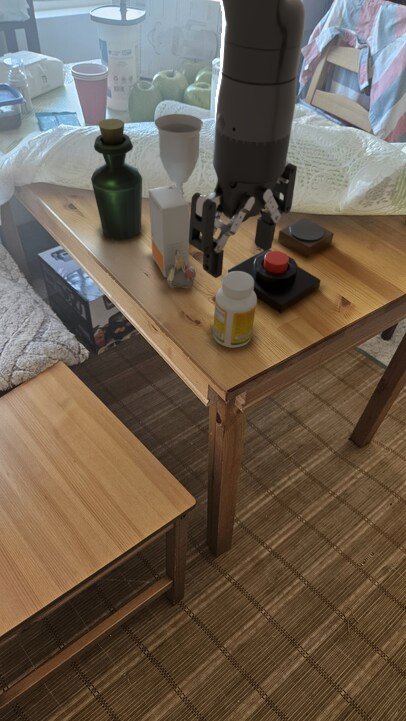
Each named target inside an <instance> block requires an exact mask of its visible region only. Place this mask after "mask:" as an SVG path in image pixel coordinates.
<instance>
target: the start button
mask: <svg viewBox="0 0 406 721" xmlns="http://www.w3.org/2000/svg"><path fill="white" fill-rule="evenodd" d="M288 256H289V255H288V254H287V253H285V252H283V251H280V250H271V251H270V252H268V253H267V254H266V255H265V259H264V269H265V270H266V271H268V272H270V273H275V274H279V273H284V272H286V271H287V268H288V262H289V257H290V256H289V257H288Z"/></svg>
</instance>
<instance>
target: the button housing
mask: <svg viewBox="0 0 406 721" xmlns="http://www.w3.org/2000/svg"><path fill="white" fill-rule="evenodd" d="M270 251H272V249H269V250H267V251H264V250H263V249H262V250H261V251H260V252H258V253H256V254H254V255H252V256H250V257H248V258H247V259H245V260H243V261H242V262H240V263H237V264H236V265H234V266H232V267H231V268H228V270H227V273H229V272H233V271H242V272H245V273H248V274H249V275H251V276H252V277H253V279H254V290H253V291H254V292H255V294H256V297H257V300H259V301H260V302H262V303H263V304H265V305H267V306H268V307H270V309H272V310H274V311H275V312H277V313H278V314H282V313H283V312H285V311H286V310H288V309H289V308H291V307H293V306H294V305H296V304H298V303H299V302H300V301H302V300H304V299H305V298H306V297H308V296H309V295H311V294H312V293H314V292H317V290H318V289H320V285H321V281H322V280H321V279H320V278H318V277H317V276H315V275H313V274H311V273H310V272H308V271H307V270H305V269H304V268H302V267H300V266H299V265H298V264H297V262H296V261H295V259H294V258H293V257H291V256H289V255H288V257H289V262H288V268H287V271H286V272H284V273H279V274H275V273H270V272H268V271H266V270H265V269H264V259H265V255H266V254H267V253H268V252H270Z"/></svg>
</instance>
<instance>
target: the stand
mask: <svg viewBox="0 0 406 721" xmlns="http://www.w3.org/2000/svg"><path fill="white" fill-rule="evenodd" d="M334 235H335V233H334V232H333V231H331V230H329V229H327V228H325V227H324V226H321V225H320V224H318V223H316V222H314V221H312V220H310V219H308V218H306V217H302V218H301V219H298V220H297V221H295V222H293V223H291V224H289V225H287V226H285V227H284V228H281V229H280V230H279V231H278V238H277V242H278V243H280V244H281V245H283V246H285V247H286V248H289V249H290V250H291V251H292V252H293V251H294V252H295V253H297V254H299V255H301V256H302V257H304V258H306V259H309V258H310V257H312V256H314V255H315V254H317V253H318V252H320V251H322V250H324V249H325V248H327V247H329V246H330V245H332V242H333V239H334Z"/></svg>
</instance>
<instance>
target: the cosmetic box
mask: <svg viewBox="0 0 406 721" xmlns="http://www.w3.org/2000/svg"><path fill="white" fill-rule="evenodd" d="M176 187H177V186H176V184H171V185H165V186H160V187H155V188H150V189H148V202H149V219H150V236H151V237H150V238H151V239H150V240H151V256H152V258H153V260H154V261H155V262H156V264H157V266H158V268H159V269H160V271H161V273H162V275H163V277H165V278H167V276H166V272H167V270H168V268H170V267H171V266H173V265H175V262H176V260H175V253H176V250H179V252H180V254H181V257H182V261H183V264H184V261H187V263H188V264H187V265H189V266H190V258H189V257H190V244H189V218H190V204H189V202H188V201H187V199H186V198H185V197H184V195H182V194H181V192H179V190H178V189H177V188H176ZM181 257H180V258H181ZM176 259H177V258H176Z"/></svg>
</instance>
